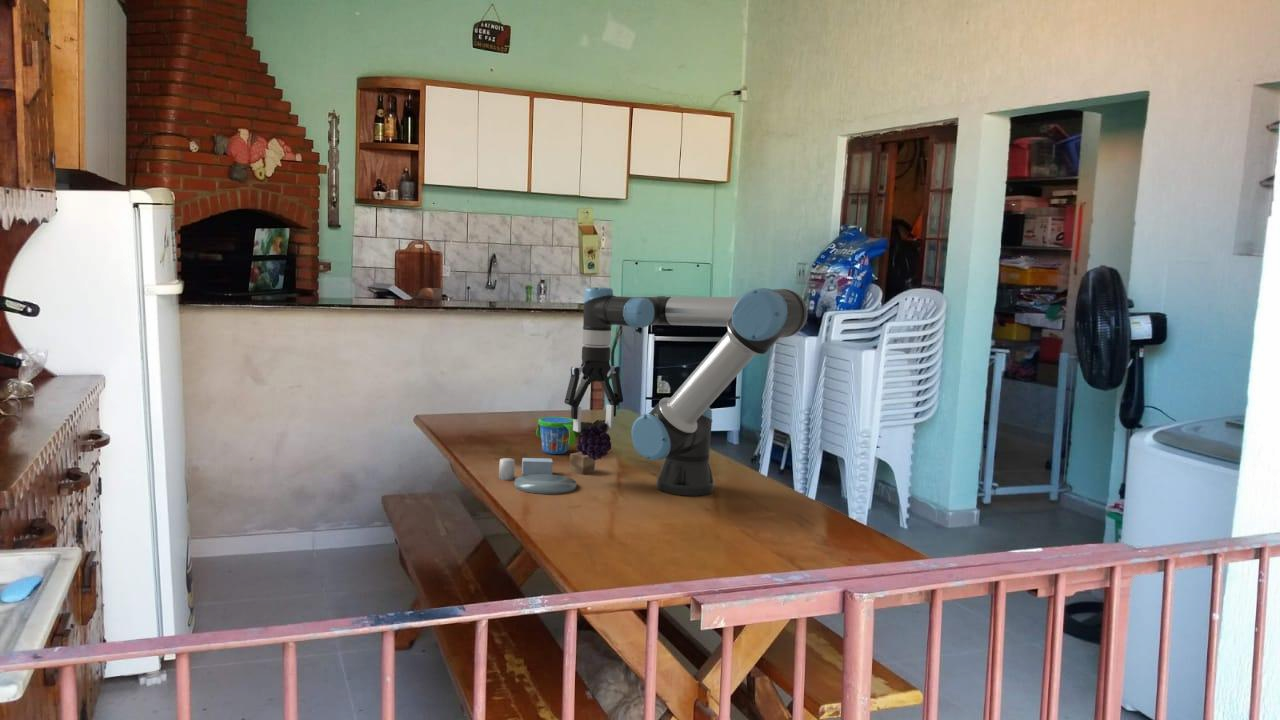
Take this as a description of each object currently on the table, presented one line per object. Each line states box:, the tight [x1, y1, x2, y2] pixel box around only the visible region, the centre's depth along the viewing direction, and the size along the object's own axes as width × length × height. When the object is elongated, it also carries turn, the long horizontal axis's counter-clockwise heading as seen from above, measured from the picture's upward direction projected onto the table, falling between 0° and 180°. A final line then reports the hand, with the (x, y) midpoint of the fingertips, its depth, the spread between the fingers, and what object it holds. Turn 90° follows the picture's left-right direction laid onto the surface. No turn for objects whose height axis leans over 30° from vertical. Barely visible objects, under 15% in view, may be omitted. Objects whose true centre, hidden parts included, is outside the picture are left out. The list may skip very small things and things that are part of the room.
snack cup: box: [535, 416, 576, 455], centre depth 283 cm, size 16×10×10 cm
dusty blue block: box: [521, 457, 554, 476], centre depth 256 cm, size 4×8×4 cm, turn 100°
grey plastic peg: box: [498, 457, 516, 481], centre depth 249 cm, size 4×4×5 cm
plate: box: [514, 474, 577, 495], centre depth 243 cm, size 16×16×1 cm
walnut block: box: [568, 451, 596, 476], centre depth 262 cm, size 5×5×5 cm
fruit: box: [574, 419, 612, 461], centre depth 249 cm, size 10×11×15 cm
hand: (593, 429), depth 249 cm, fingers closed on fruit, 9 cm apart
